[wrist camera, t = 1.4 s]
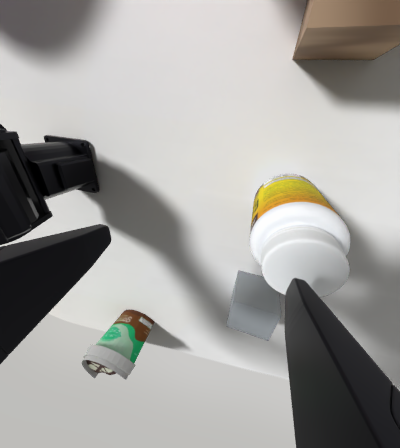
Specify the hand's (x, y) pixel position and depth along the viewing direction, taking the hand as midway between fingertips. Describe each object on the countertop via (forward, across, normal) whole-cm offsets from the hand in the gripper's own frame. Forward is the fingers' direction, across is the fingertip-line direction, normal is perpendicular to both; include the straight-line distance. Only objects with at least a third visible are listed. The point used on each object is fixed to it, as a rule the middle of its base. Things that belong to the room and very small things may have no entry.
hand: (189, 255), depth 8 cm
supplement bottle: (+12, -6, +1) cm, 13 cm away
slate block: (+12, -6, +14) cm, 19 cm away
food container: (+12, +16, +33) cm, 38 cm away
